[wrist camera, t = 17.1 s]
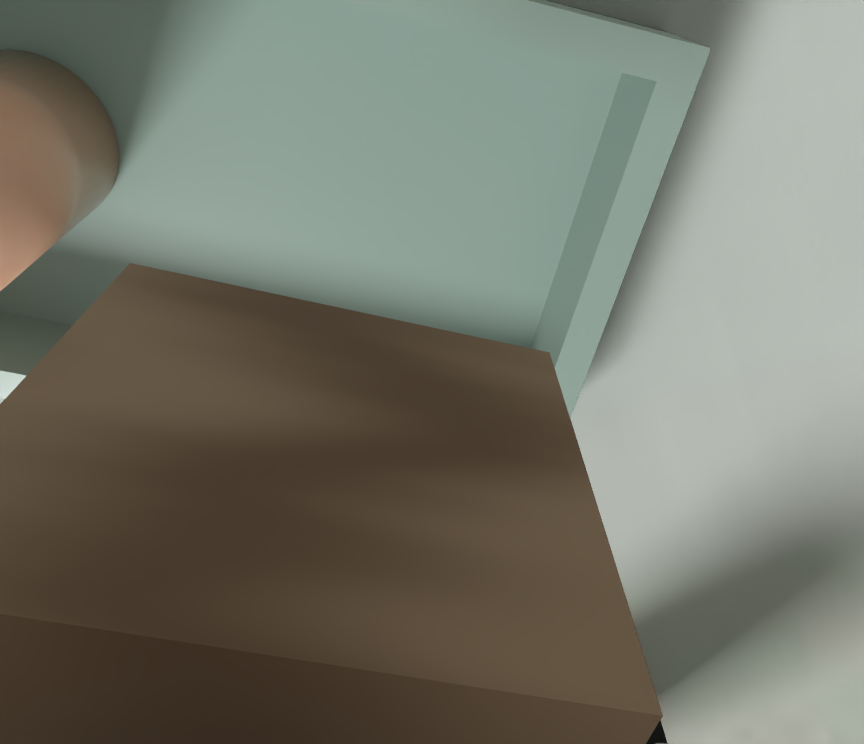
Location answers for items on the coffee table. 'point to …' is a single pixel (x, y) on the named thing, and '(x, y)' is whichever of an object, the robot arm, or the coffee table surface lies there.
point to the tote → (365, 159)
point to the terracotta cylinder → (48, 157)
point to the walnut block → (301, 535)
